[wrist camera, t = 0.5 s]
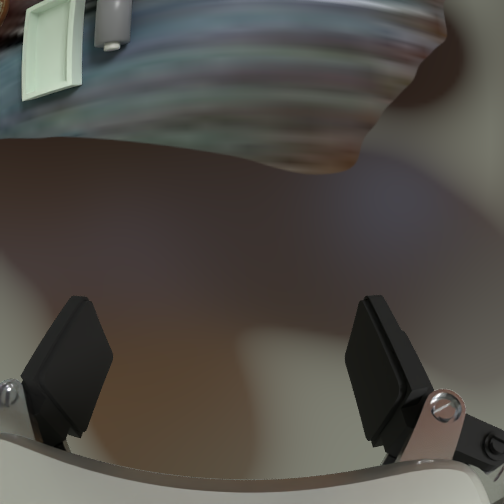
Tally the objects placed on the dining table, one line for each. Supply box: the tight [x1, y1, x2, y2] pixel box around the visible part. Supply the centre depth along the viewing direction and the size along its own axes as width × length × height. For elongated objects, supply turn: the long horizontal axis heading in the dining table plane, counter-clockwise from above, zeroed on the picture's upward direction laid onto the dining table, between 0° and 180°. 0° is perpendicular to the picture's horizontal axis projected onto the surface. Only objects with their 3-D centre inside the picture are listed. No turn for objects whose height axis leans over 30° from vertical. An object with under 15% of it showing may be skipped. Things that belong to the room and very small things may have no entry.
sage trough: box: [22, 0, 86, 101], centre depth 25 cm, size 15×9×3 cm, turn 0°
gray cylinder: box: [94, 0, 132, 51], centre depth 23 cm, size 11×4×4 cm, turn 0°
